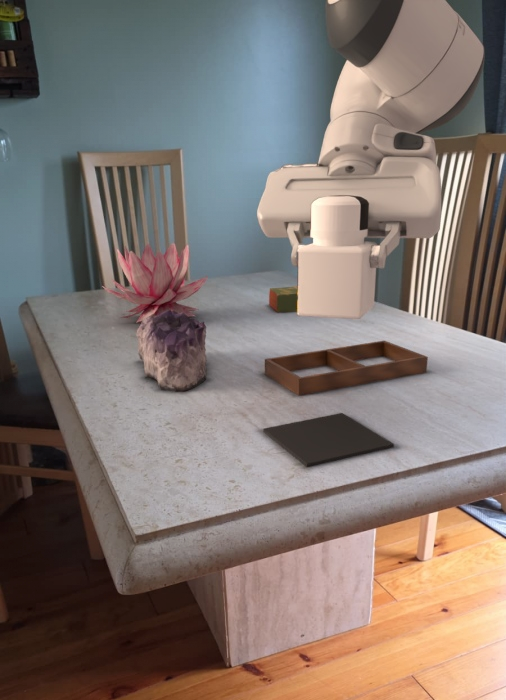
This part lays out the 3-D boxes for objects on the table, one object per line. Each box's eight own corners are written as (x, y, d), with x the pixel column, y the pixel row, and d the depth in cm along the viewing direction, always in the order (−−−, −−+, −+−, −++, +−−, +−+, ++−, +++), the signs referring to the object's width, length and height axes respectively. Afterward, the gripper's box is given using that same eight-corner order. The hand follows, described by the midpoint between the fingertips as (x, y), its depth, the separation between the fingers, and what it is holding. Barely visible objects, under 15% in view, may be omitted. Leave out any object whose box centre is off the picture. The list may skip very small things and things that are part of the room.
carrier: (383, 355, 103) (384, 340, 102) (426, 372, 94) (428, 356, 93) (264, 374, 95) (264, 358, 94) (298, 396, 86) (298, 378, 85)
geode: (230, 387, 90) (217, 321, 86) (152, 406, 89) (135, 339, 84) (205, 347, 108) (194, 290, 103) (140, 362, 106) (125, 305, 102)
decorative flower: (100, 334, 123) (89, 254, 117) (118, 311, 142) (109, 242, 136) (208, 329, 123) (203, 250, 117) (211, 308, 143) (207, 239, 136)
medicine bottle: (314, 303, 74) (316, 194, 69) (374, 306, 71) (380, 194, 66) (296, 316, 68) (296, 197, 63) (361, 320, 65) (366, 197, 60)
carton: (347, 308, 138) (348, 288, 136) (276, 313, 135) (276, 293, 134) (336, 301, 145) (336, 282, 143) (268, 305, 143) (268, 286, 141)
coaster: (341, 416, 79) (342, 412, 78) (393, 448, 69) (393, 443, 69) (263, 432, 75) (263, 428, 74) (306, 468, 65) (307, 463, 65)
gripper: (264, 145, 72) (238, 244, 67) (449, 137, 65) (434, 245, 61) (276, 186, 77) (253, 279, 73) (448, 182, 71) (433, 284, 67)
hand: (337, 264), depth 67 cm, fingers closed on medicine bottle, 7 cm apart
